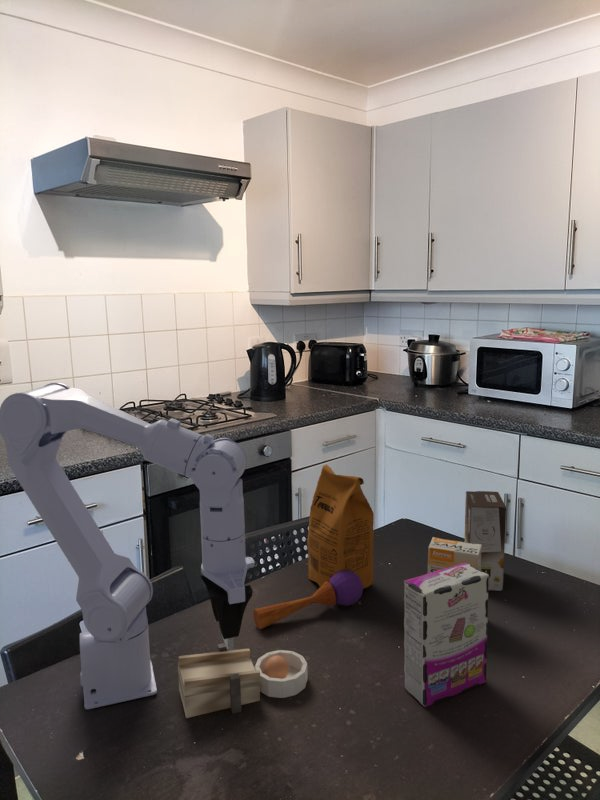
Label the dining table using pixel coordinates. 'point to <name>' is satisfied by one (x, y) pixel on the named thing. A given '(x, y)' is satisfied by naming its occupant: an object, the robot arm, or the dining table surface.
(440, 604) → the candy bar box
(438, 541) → the supplement box
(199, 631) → the dining table surface
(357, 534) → the coffee package
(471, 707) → the dining table surface
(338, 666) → the dining table surface
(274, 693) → the white round shallow bowl
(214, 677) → the wooden box
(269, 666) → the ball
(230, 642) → the gate
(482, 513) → the coffee box
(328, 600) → the kendama
